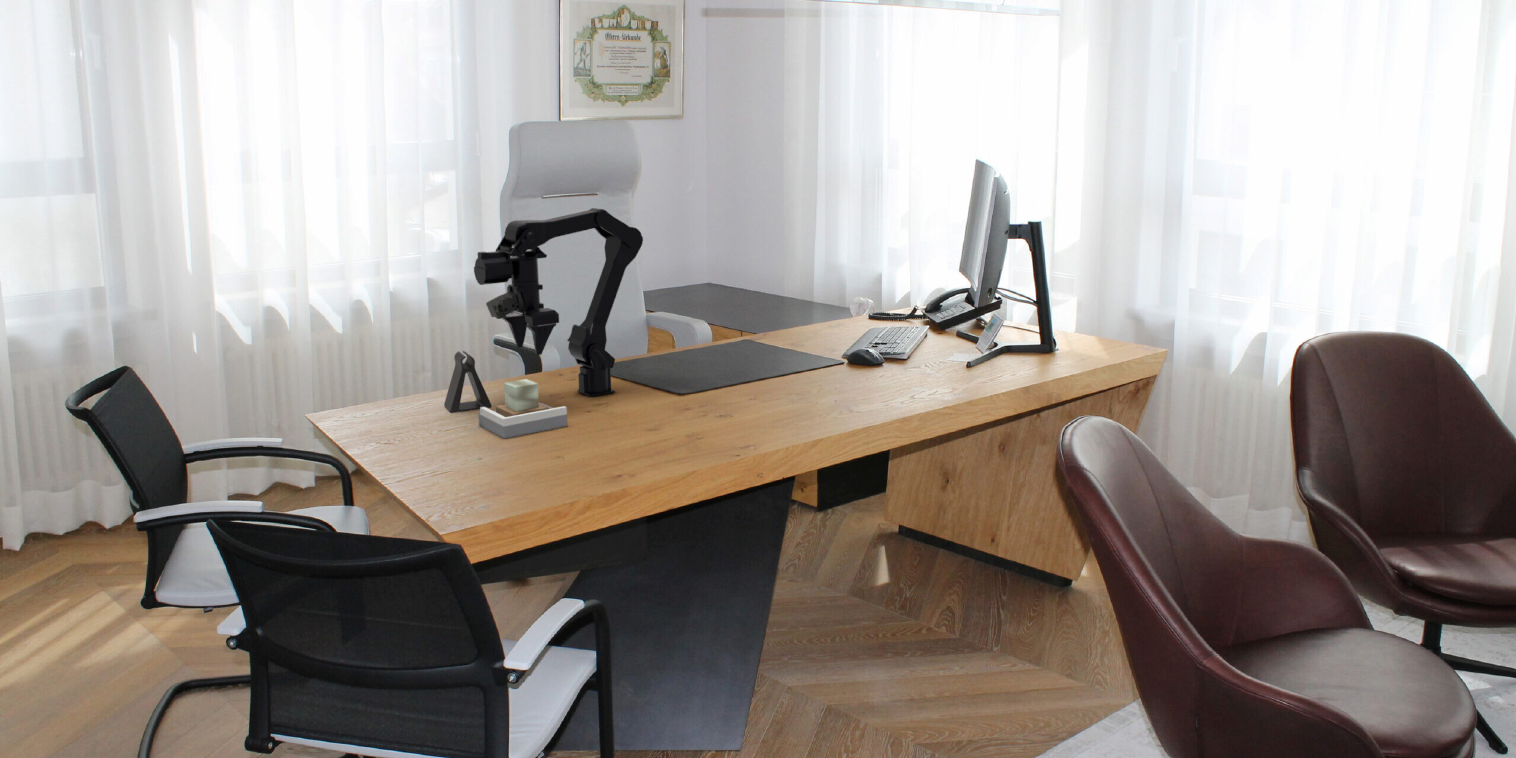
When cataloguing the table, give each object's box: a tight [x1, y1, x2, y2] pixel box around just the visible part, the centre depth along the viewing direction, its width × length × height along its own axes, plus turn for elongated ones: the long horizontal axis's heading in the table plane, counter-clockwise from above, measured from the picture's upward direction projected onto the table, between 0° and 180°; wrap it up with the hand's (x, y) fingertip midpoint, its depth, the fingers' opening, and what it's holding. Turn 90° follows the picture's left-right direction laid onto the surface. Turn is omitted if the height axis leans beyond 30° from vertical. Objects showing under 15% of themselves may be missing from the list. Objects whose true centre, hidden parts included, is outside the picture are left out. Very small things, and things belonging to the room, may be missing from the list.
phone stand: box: [443, 350, 493, 414], centre depth 238 cm, size 9×6×12 cm, turn 118°
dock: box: [477, 401, 569, 439], centre depth 225 cm, size 14×12×4 cm
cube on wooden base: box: [495, 378, 549, 417], centre depth 224 cm, size 8×8×6 cm
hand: (529, 351), depth 238 cm, fingers open, 9 cm apart
